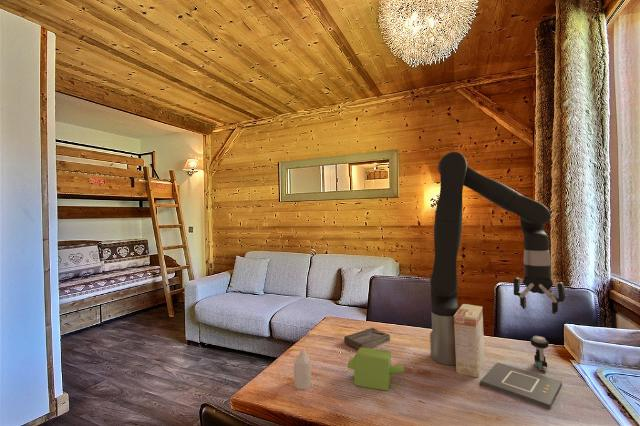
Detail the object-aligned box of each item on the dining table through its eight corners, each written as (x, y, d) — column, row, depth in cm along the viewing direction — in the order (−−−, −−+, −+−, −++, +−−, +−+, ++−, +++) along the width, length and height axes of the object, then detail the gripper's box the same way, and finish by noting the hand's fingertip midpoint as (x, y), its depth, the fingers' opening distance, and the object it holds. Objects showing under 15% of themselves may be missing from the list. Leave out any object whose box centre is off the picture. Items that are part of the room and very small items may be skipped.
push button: (554, 373, 103) (553, 343, 103) (536, 372, 105) (535, 342, 105) (545, 364, 110) (544, 335, 110) (528, 362, 111) (527, 334, 111)
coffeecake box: (464, 355, 119) (462, 303, 119) (485, 359, 115) (483, 306, 114) (455, 372, 106) (452, 314, 106) (478, 378, 102) (476, 318, 102)
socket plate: (480, 384, 99) (480, 380, 99) (497, 365, 110) (497, 362, 110) (550, 409, 86) (550, 404, 86) (562, 385, 97) (561, 381, 97)
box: (343, 343, 133) (343, 336, 133) (372, 333, 143) (372, 326, 143) (361, 352, 124) (361, 344, 124) (390, 341, 135) (390, 334, 135)
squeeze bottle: (292, 345, 105) (308, 343, 106) (293, 381, 105) (310, 378, 106) (293, 352, 99) (311, 350, 100) (295, 390, 99) (312, 388, 100)
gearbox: (405, 378, 105) (405, 349, 105) (403, 393, 95) (402, 362, 96) (352, 370, 111) (352, 343, 111) (345, 384, 101) (345, 354, 102)
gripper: (509, 262, 110) (511, 309, 110) (560, 266, 99) (562, 318, 99) (516, 259, 115) (518, 304, 115) (565, 263, 104) (567, 312, 104)
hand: (539, 310), depth 107 cm, fingers open, 8 cm apart
